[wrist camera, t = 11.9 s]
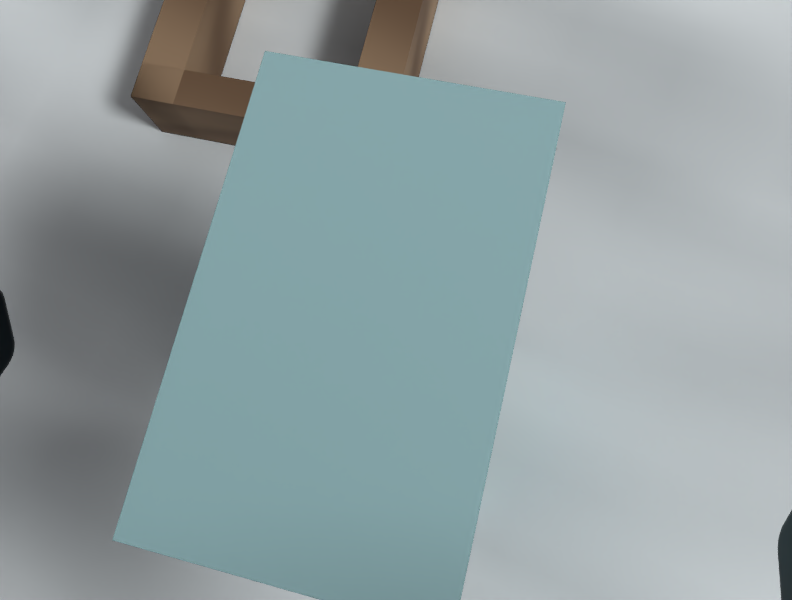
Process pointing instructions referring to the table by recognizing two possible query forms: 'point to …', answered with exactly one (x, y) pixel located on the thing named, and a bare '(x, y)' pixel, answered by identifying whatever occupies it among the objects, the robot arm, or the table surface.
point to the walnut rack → (227, 97)
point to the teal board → (348, 335)
